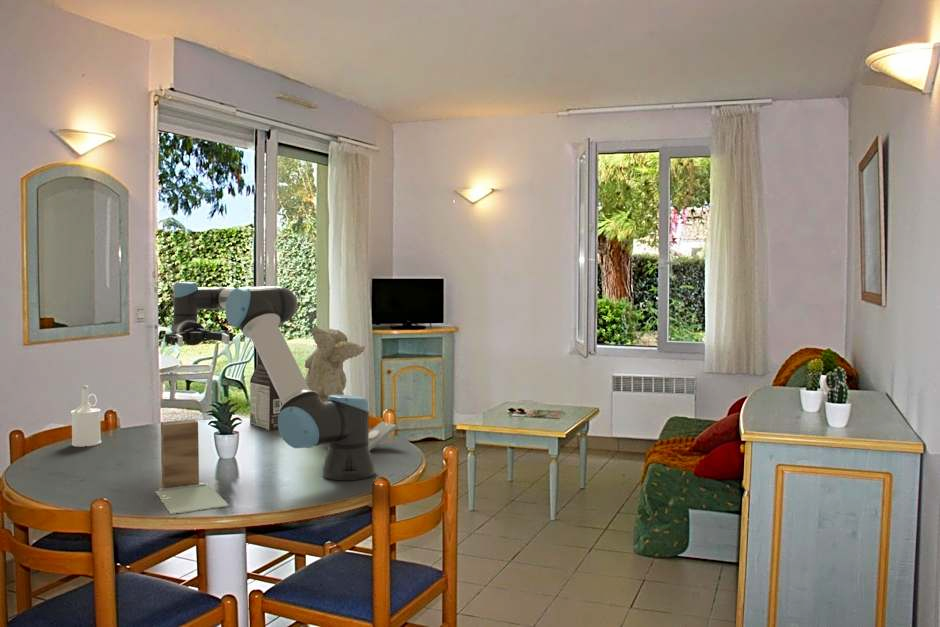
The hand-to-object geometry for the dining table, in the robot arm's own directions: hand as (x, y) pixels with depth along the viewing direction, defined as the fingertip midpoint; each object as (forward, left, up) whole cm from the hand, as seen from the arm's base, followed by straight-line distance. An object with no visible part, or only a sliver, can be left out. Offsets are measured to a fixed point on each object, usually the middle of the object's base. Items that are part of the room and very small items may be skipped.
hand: (204, 340), depth 246 cm
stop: (-15, +19, -38) cm, 46 cm away
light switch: (-24, -49, -39) cm, 67 cm away
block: (-13, +18, -38) cm, 44 cm away
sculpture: (+4, -59, -38) cm, 70 cm away
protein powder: (+34, -54, -39) cm, 75 cm away
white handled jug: (+59, +4, -39) cm, 71 cm away
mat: (-25, +24, -38) cm, 52 cm away
